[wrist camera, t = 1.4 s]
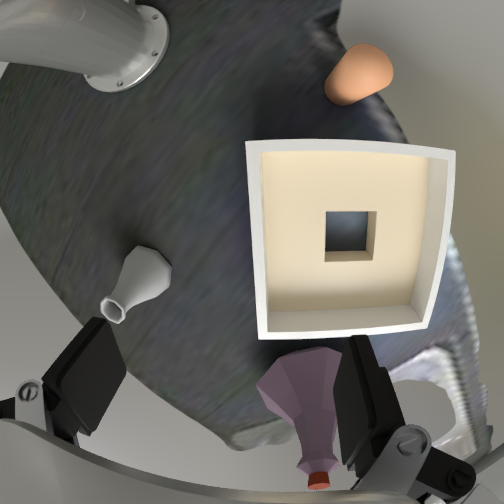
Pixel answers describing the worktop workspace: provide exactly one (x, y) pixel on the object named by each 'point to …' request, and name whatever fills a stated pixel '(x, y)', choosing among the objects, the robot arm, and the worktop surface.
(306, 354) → the flask
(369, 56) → the peg
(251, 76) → the worktop surface
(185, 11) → the worktop surface
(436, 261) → the box
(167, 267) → the flask
